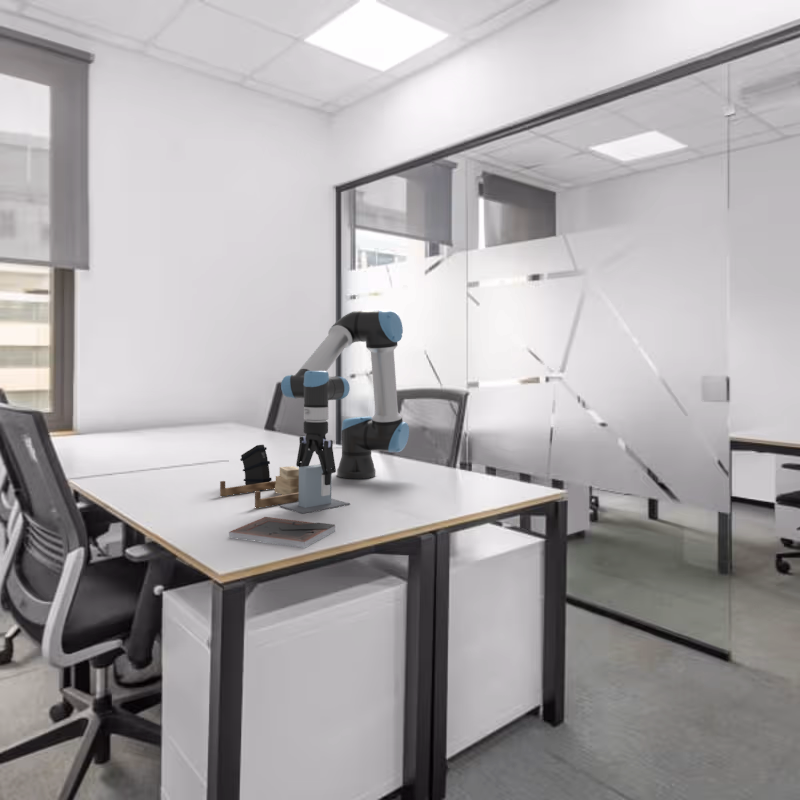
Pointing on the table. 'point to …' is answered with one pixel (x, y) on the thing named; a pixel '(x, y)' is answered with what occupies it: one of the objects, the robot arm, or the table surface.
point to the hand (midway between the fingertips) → (315, 492)
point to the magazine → (256, 465)
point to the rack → (259, 493)
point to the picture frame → (283, 531)
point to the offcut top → (289, 472)
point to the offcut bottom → (285, 490)
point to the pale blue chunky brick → (311, 486)
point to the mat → (314, 508)
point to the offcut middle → (287, 482)
